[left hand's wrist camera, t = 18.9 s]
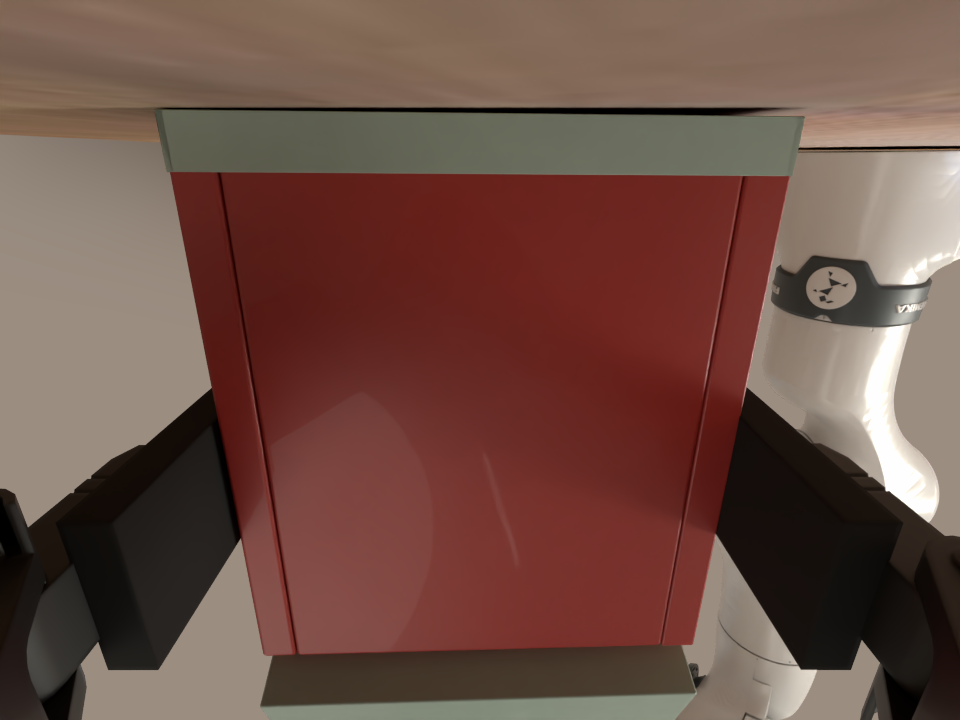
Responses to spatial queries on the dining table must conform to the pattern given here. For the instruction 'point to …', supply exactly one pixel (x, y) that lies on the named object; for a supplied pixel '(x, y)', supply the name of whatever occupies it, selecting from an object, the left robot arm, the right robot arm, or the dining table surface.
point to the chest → (477, 363)
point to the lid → (482, 684)
